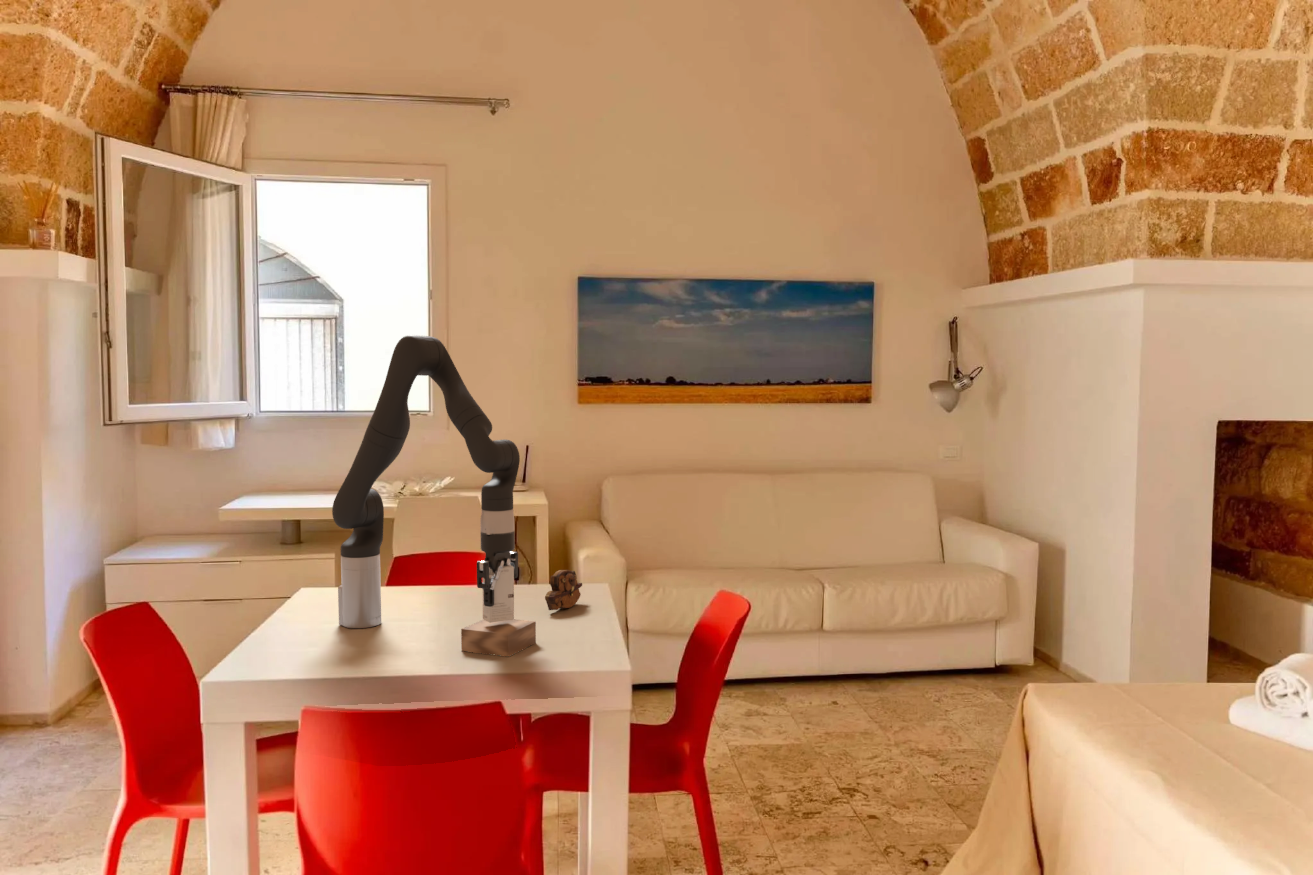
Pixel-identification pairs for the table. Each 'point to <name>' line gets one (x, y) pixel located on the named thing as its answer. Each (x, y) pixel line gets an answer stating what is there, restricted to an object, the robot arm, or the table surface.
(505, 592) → the skincare box
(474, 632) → the walnut block
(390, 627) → the table surface
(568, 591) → the wooden carving
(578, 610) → the table surface
